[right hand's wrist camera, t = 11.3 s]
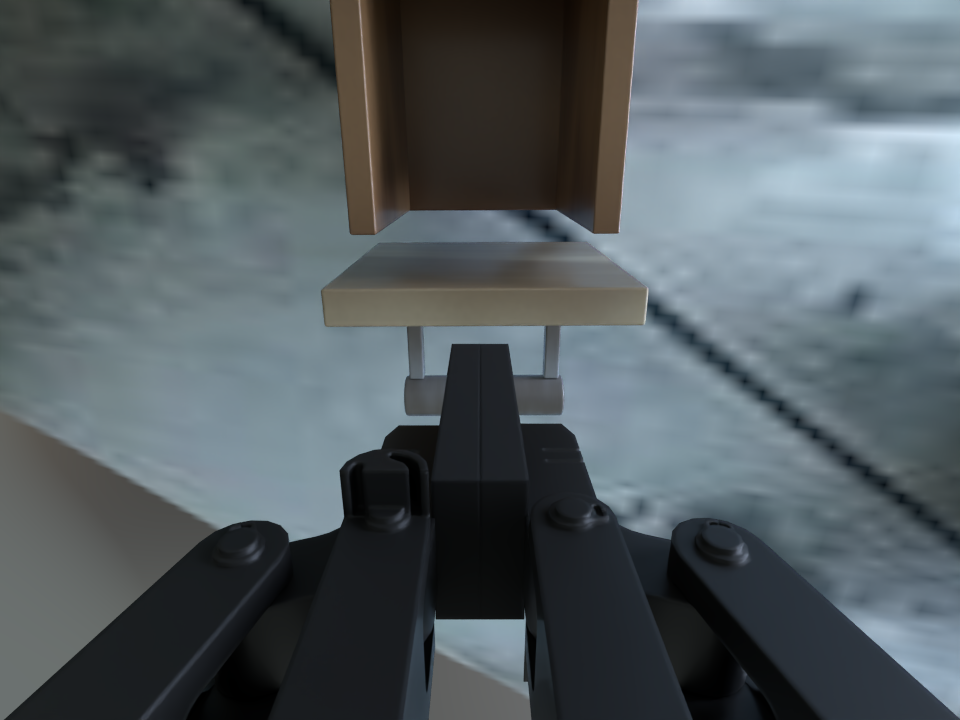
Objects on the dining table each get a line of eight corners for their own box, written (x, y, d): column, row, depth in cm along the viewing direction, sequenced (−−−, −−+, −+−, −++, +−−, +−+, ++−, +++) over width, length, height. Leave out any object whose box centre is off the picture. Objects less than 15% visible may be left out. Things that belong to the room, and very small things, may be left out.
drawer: (579, 372, 28) (629, 478, 18) (387, 374, 28) (340, 480, 19) (623, -320, 19) (762, -785, 10) (339, -318, 19) (203, -781, 10)
